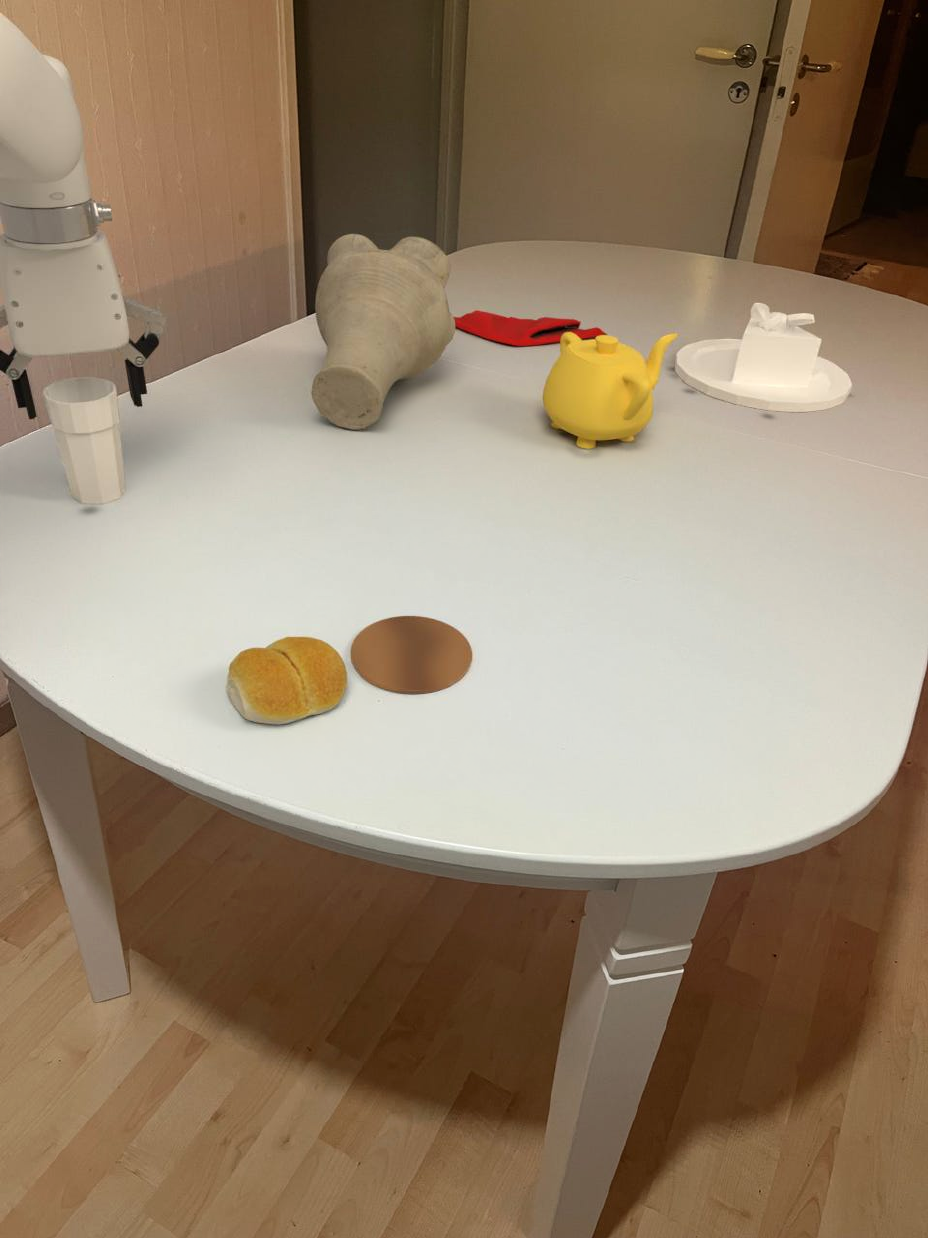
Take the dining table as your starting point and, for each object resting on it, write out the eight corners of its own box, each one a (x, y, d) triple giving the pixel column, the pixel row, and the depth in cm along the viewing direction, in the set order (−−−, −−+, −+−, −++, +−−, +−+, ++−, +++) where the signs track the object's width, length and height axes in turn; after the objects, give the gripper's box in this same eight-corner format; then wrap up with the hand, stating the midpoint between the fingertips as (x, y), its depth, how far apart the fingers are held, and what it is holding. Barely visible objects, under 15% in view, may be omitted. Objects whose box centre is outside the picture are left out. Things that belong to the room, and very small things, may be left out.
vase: (430, 359, 96) (483, 229, 113) (229, 301, 95) (314, 180, 113) (404, 506, 112) (453, 373, 130) (232, 457, 112) (305, 331, 130)
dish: (875, 416, 125) (903, 334, 118) (691, 405, 124) (710, 321, 117) (818, 352, 145) (840, 278, 138) (660, 342, 144) (674, 267, 137)
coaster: (375, 706, 71) (375, 702, 71) (334, 632, 78) (334, 629, 78) (492, 677, 75) (492, 674, 74) (442, 610, 82) (442, 606, 82)
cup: (50, 499, 93) (27, 395, 87) (93, 471, 98) (74, 372, 92) (105, 513, 92) (86, 408, 85) (146, 485, 97) (130, 384, 90)
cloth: (425, 332, 141) (426, 317, 139) (453, 307, 151) (454, 293, 150) (593, 360, 135) (595, 345, 134) (610, 332, 146) (612, 318, 145)
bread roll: (364, 703, 71) (364, 663, 69) (254, 742, 67) (250, 700, 65) (318, 645, 77) (317, 606, 74) (213, 677, 72) (208, 637, 70)
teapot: (647, 465, 108) (666, 368, 101) (528, 443, 111) (539, 347, 104) (660, 420, 119) (679, 329, 112) (552, 401, 122) (563, 311, 115)
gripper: (145, 206, 85) (169, 382, 96) (-64, 214, 79) (-15, 402, 89) (159, 227, 80) (183, 412, 90) (-63, 238, 74) (-11, 435, 84)
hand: (85, 407), depth 90 cm, fingers open, 9 cm apart
